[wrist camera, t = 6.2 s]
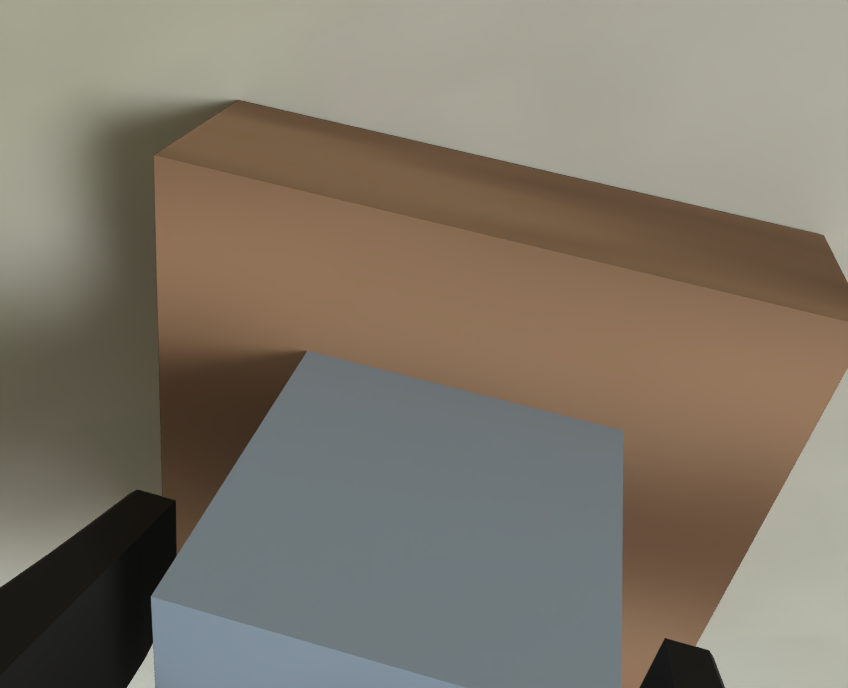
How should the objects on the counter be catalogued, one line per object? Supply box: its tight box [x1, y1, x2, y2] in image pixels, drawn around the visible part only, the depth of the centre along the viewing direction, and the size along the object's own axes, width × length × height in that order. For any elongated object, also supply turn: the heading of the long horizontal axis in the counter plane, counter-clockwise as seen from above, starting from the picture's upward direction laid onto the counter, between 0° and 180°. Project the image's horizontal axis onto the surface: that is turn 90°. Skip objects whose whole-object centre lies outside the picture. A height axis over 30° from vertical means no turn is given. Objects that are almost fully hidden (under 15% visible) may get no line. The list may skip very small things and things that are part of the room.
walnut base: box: [154, 100, 848, 688], centre depth 15 cm, size 10×10×3 cm
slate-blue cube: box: [151, 351, 623, 688], centre depth 12 cm, size 5×5×5 cm
